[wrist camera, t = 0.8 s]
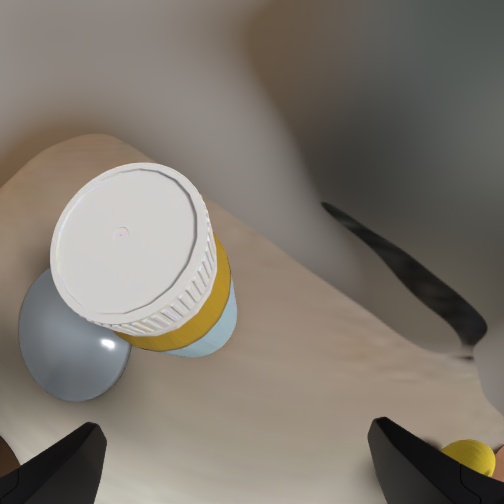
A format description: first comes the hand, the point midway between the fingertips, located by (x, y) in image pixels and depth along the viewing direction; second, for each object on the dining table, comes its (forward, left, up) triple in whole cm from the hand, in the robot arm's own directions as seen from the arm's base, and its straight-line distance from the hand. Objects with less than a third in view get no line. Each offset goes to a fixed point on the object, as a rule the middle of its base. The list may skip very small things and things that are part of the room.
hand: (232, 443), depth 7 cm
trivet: (-10, +13, -14) cm, 21 cm away
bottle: (+1, +8, -14) cm, 16 cm away
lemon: (+10, -18, -14) cm, 25 cm away
